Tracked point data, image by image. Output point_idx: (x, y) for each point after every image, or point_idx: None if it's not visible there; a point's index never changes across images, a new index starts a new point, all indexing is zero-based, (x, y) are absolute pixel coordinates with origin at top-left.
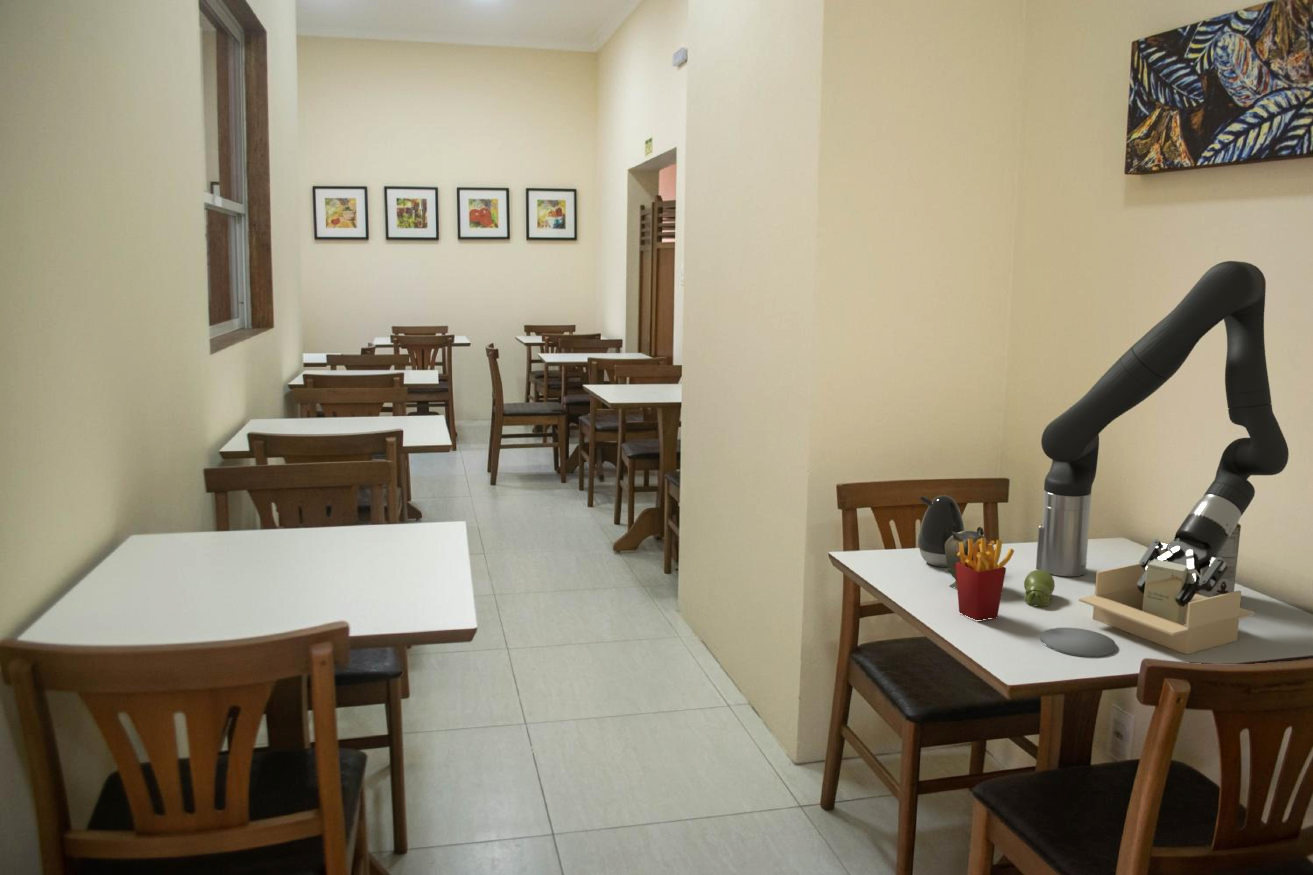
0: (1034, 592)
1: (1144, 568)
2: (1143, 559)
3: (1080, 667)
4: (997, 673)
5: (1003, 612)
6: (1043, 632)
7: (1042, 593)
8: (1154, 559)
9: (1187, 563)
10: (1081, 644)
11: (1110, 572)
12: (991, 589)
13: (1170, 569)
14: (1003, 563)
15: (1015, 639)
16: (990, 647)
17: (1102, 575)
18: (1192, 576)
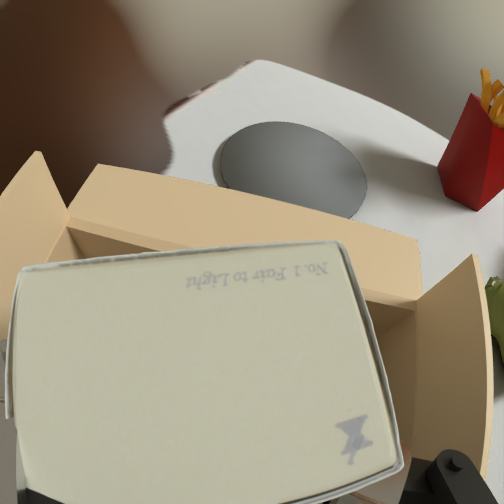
0: (498, 279)
1: (412, 458)
2: (468, 480)
3: (229, 104)
4: (287, 67)
5: (464, 225)
6: (357, 163)
7: (493, 291)
8: (395, 452)
9: (7, 464)
10: (278, 150)
11: (475, 332)
12: (466, 139)
13: (119, 260)
14: (498, 117)
15: (361, 137)
16: (351, 106)
17: (466, 288)
18: (2, 378)
